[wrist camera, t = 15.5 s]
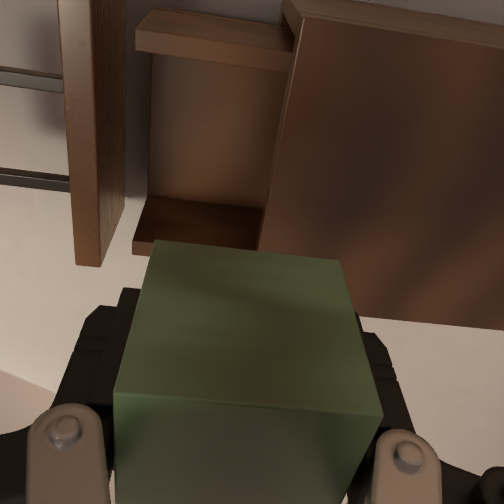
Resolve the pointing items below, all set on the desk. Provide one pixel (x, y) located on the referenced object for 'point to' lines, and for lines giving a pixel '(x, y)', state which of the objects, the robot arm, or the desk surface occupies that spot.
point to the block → (241, 381)
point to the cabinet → (394, 159)
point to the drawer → (165, 124)
